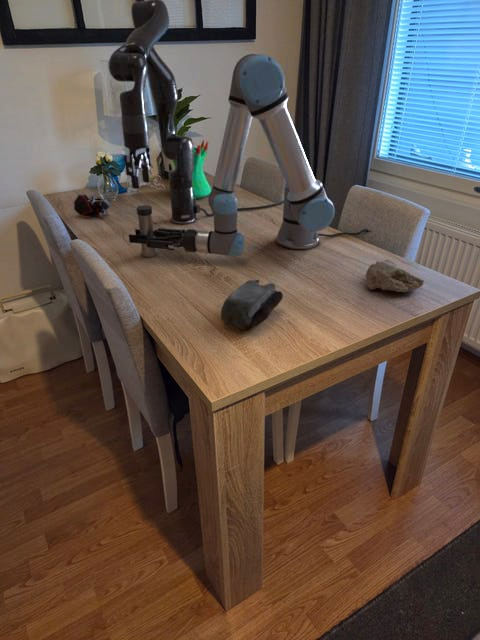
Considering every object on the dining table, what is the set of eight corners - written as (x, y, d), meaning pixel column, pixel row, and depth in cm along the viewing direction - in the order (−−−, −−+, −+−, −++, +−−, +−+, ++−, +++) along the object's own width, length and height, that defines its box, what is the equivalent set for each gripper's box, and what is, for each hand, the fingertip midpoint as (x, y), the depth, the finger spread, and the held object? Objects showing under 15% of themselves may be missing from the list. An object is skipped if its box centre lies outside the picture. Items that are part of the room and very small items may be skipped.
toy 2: (167, 190, 223) (163, 137, 210) (207, 188, 227) (205, 135, 214) (172, 202, 206) (167, 145, 193) (214, 199, 210) (213, 143, 197)
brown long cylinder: (148, 258, 152) (143, 211, 144) (140, 254, 155) (134, 209, 146) (158, 254, 155) (153, 208, 147) (150, 251, 158) (145, 205, 149)
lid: (143, 216, 144) (142, 210, 143) (134, 213, 147) (133, 207, 146) (155, 213, 148) (154, 207, 147) (145, 210, 150) (145, 204, 149)
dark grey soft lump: (254, 340, 110) (255, 313, 105) (215, 329, 114) (214, 302, 110) (284, 308, 123) (285, 283, 119) (248, 299, 128) (248, 274, 124)
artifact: (384, 303, 127) (425, 296, 132) (391, 281, 123) (434, 275, 127) (349, 272, 141) (388, 267, 145) (355, 251, 136) (395, 247, 141)
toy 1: (101, 187, 180) (72, 186, 186) (93, 207, 178) (64, 205, 183) (117, 205, 191) (89, 203, 196) (109, 223, 188) (82, 221, 194)
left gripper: (134, 126, 141) (140, 178, 149) (112, 133, 129) (120, 190, 137) (156, 127, 139) (161, 180, 148) (136, 134, 127) (142, 192, 136)
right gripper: (190, 262, 143) (123, 255, 147) (205, 242, 158) (143, 236, 162) (189, 240, 139) (120, 234, 143) (204, 221, 154) (141, 216, 158)
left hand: (141, 185), depth 142 cm, fingers open, 7 cm apart
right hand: (132, 235), depth 153 cm, fingers closed on brown long cylinder, 4 cm apart
